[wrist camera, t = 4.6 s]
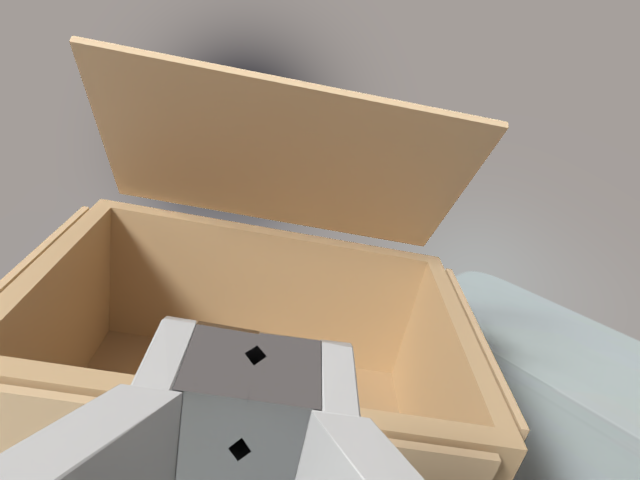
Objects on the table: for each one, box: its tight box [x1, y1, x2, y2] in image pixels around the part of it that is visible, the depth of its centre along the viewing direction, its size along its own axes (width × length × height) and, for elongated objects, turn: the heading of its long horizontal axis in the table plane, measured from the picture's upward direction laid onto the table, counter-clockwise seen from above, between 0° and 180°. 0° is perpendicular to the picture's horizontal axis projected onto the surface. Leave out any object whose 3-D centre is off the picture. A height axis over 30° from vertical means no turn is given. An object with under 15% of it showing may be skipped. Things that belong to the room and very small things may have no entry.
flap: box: [69, 36, 508, 246], centre depth 23 cm, size 16×1×10 cm
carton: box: [0, 199, 530, 480], centre depth 22 cm, size 19×14×8 cm
